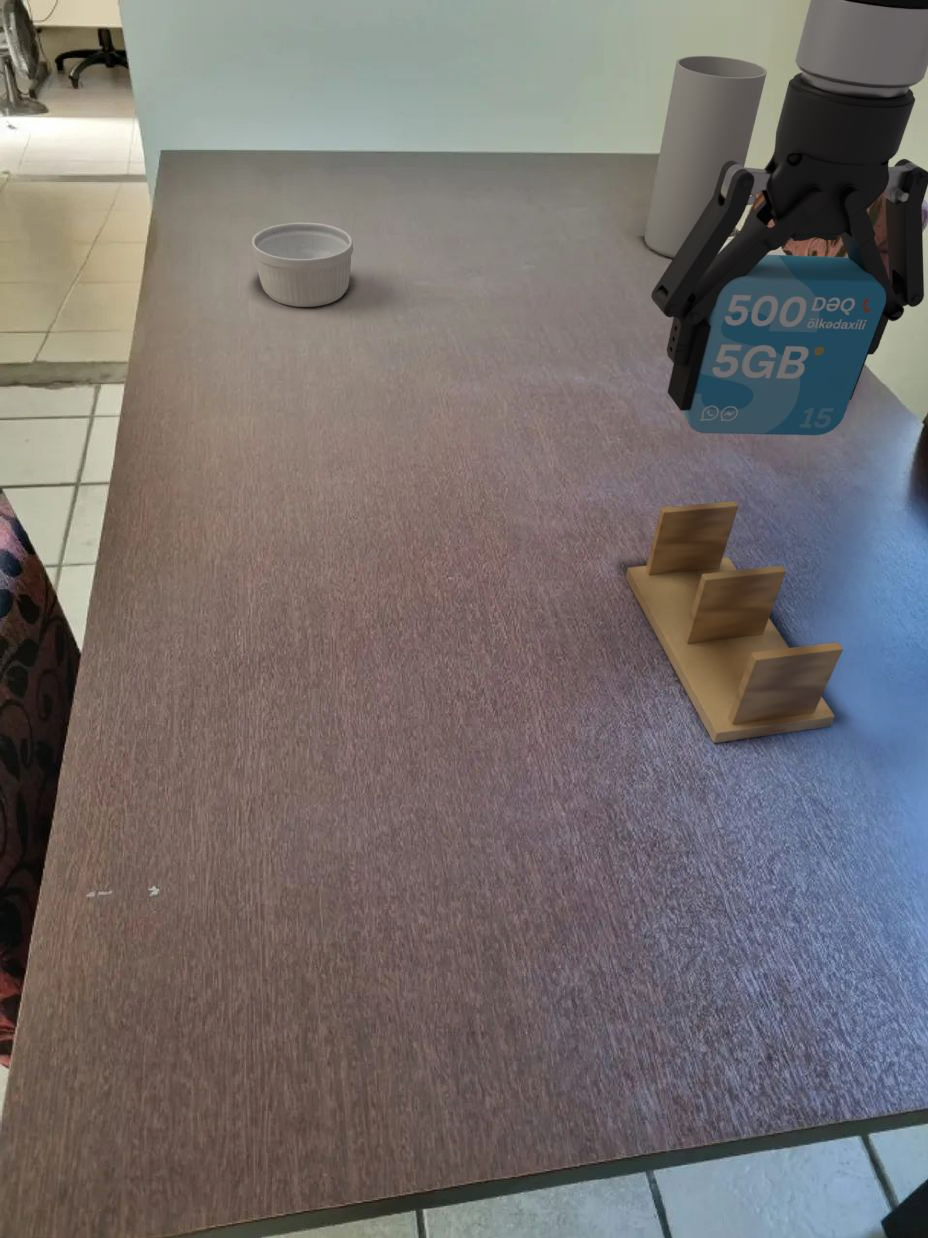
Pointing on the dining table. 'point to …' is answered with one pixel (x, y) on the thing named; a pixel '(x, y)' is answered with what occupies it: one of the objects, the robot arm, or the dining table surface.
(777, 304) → the data package
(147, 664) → the dining table surface
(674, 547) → the slot rack
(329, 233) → the ramekin
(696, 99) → the cylinder vase
